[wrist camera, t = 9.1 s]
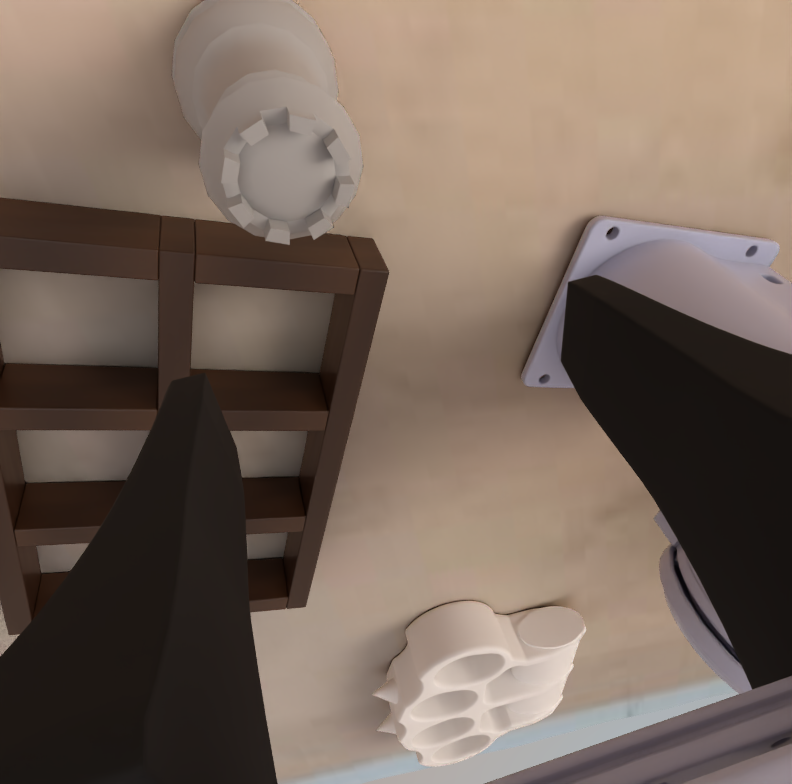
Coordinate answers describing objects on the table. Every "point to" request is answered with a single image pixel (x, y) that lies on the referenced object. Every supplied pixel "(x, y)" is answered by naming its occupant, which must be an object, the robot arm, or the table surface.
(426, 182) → the table surface
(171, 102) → the table surface
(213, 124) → the rook chess piece
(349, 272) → the rack
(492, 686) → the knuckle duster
